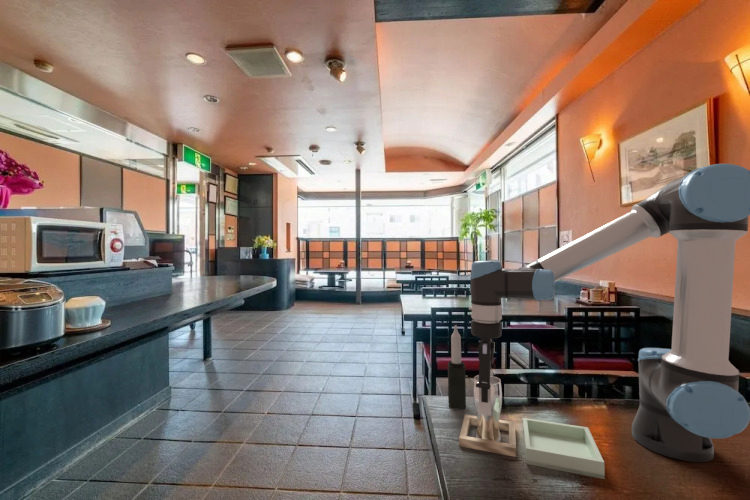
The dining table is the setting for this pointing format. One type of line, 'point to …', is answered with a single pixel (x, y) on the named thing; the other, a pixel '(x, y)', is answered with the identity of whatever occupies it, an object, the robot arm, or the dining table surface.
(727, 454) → the dining table surface
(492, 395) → the beer glass
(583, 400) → the dining table surface
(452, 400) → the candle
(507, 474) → the dining table surface
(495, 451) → the light wood square frame
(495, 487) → the dining table surface
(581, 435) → the tray
